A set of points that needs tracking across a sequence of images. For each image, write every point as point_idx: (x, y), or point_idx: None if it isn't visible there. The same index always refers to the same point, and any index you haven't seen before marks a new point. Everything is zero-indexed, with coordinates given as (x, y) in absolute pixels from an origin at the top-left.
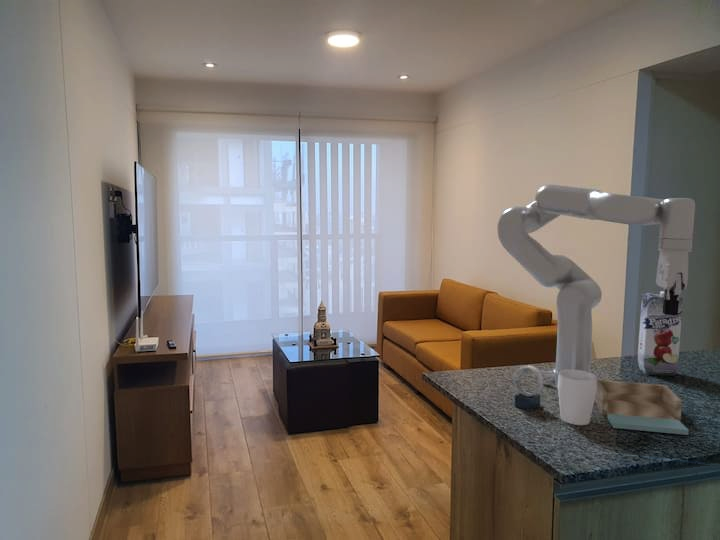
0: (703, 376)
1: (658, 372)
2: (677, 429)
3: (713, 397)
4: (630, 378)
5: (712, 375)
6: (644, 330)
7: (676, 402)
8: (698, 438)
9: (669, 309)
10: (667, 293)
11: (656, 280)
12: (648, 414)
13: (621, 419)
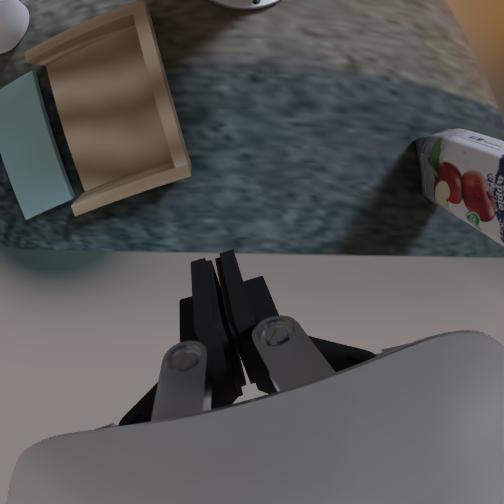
0: (432, 242)
1: (421, 163)
2: (19, 202)
3: (311, 254)
4: (380, 99)
5: (439, 255)
6: (500, 153)
7: (72, 204)
8: (44, 229)
9: (181, 308)
10: (183, 394)
11: (485, 362)
12: (86, 139)
13: (9, 104)
